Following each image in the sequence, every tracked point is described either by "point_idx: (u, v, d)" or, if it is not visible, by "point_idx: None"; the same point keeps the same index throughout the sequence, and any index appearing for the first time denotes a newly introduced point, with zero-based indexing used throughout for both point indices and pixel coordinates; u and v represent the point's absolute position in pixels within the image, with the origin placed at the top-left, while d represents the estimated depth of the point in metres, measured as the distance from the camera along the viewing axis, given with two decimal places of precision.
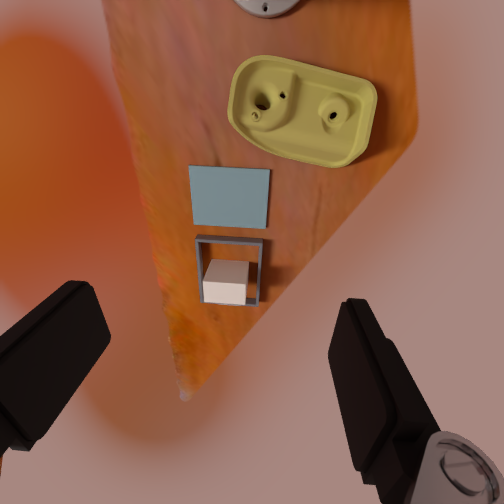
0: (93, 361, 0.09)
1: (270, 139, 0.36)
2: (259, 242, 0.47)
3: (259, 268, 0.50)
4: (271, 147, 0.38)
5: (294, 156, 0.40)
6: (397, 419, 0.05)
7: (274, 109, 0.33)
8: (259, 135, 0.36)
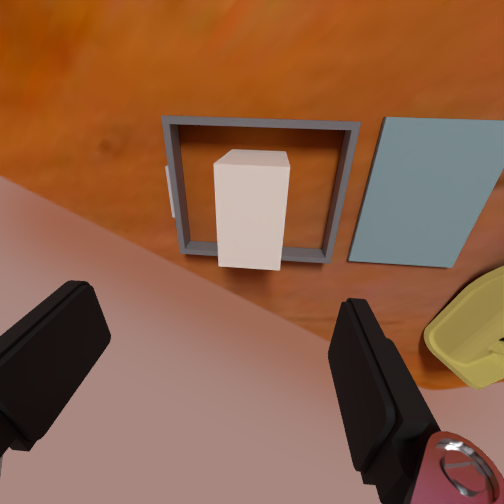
0: (93, 360, 0.09)
1: None
2: None
3: None
4: (503, 274, 0.25)
5: (465, 296, 0.28)
6: (397, 419, 0.05)
7: None
8: None
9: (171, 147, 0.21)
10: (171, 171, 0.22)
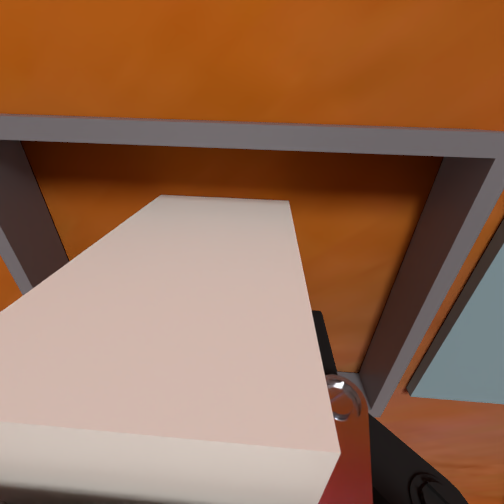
0: None
1: None
2: None
3: None
4: None
5: None
6: None
7: None
8: None
9: None
10: (5, 253, 0.09)
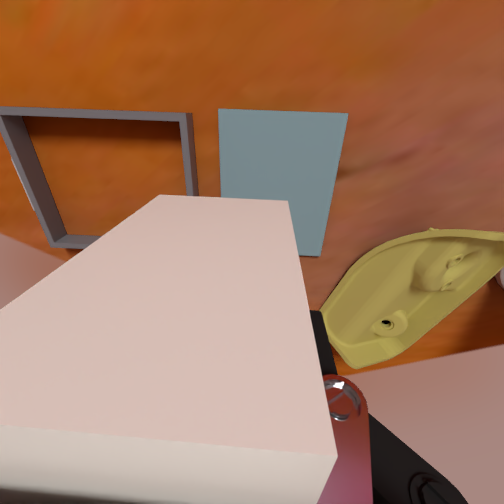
0: None
1: (398, 264, 0.24)
2: None
3: None
4: (377, 255, 0.26)
5: (349, 278, 0.28)
6: None
7: (441, 279, 0.23)
8: (412, 251, 0.23)
9: (9, 138, 0.21)
10: (16, 163, 0.22)
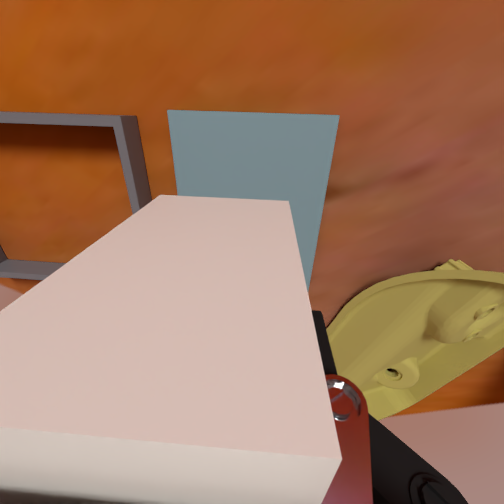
0: None
1: (407, 307, 0.18)
2: None
3: None
4: (380, 293, 0.20)
5: (345, 317, 0.23)
6: None
7: (465, 331, 0.17)
8: (425, 293, 0.17)
9: None
10: None
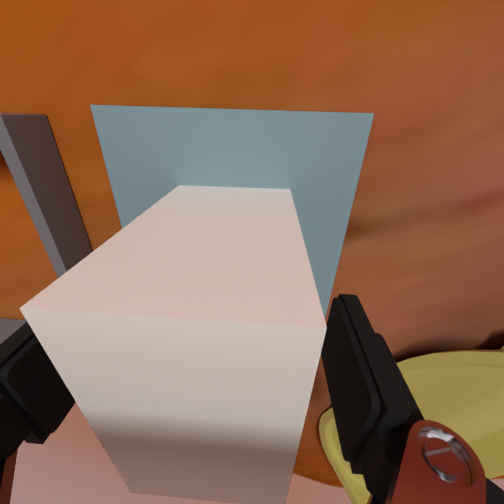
0: None
1: (484, 397, 0.12)
2: None
3: None
4: (436, 366, 0.14)
5: None
6: (382, 408, 0.05)
7: None
8: None
9: None
10: None
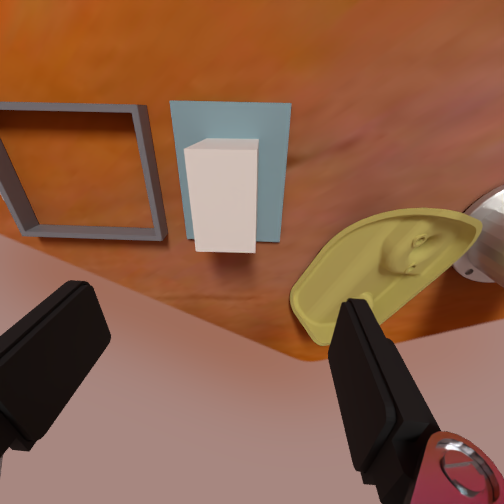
0: (93, 360, 0.09)
1: (368, 242, 0.25)
2: (162, 234, 0.27)
3: (110, 236, 0.28)
4: (350, 234, 0.26)
5: (323, 256, 0.29)
6: (397, 419, 0.05)
7: (406, 260, 0.25)
8: (382, 230, 0.24)
9: None
10: None
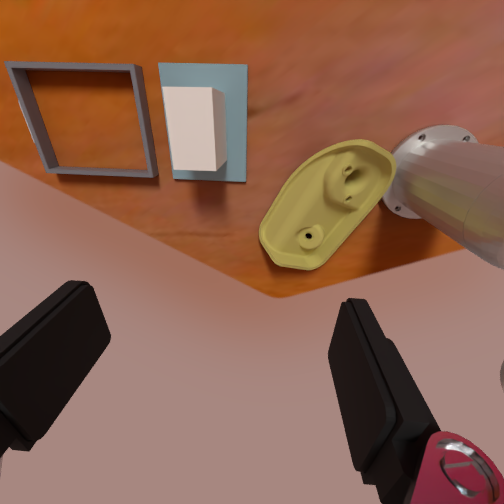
0: (93, 360, 0.09)
1: (314, 175, 0.32)
2: (153, 172, 0.35)
3: (113, 173, 0.35)
4: (302, 171, 0.34)
5: (283, 193, 0.36)
6: (397, 419, 0.05)
7: (342, 189, 0.32)
8: (323, 165, 0.31)
9: (17, 85, 0.31)
10: (22, 104, 0.32)
